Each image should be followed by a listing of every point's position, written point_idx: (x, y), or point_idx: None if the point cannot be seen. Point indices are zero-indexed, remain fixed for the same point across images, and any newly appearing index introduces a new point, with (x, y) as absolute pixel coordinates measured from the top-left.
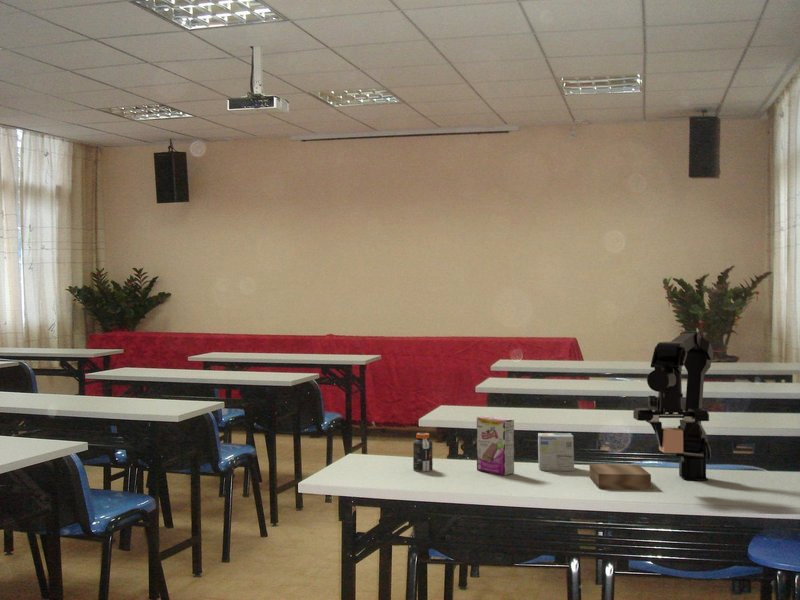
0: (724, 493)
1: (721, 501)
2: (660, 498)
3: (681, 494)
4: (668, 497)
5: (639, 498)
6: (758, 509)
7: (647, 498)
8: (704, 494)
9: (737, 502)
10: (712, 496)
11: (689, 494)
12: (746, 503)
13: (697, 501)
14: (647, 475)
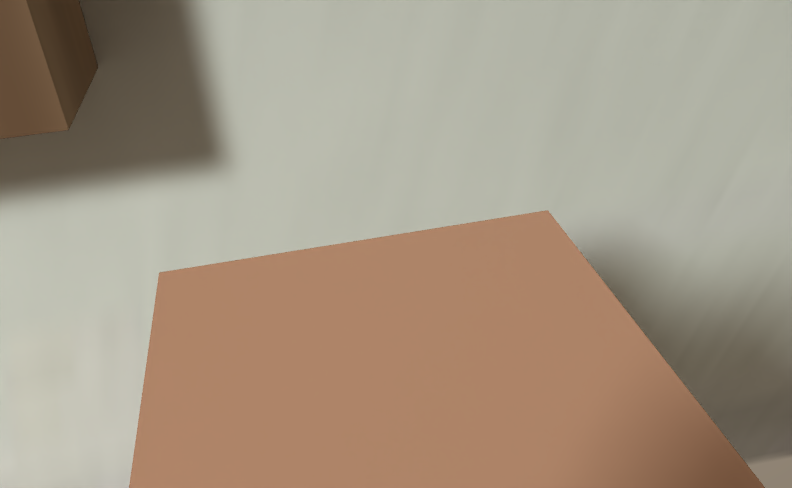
0: (746, 111)
1: None
2: None
3: (375, 219)
4: None
5: (7, 419)
6: None
7: (74, 404)
8: (568, 180)
9: (689, 357)
10: (603, 234)
11: (444, 205)
12: (730, 367)
13: None
14: (23, 131)
